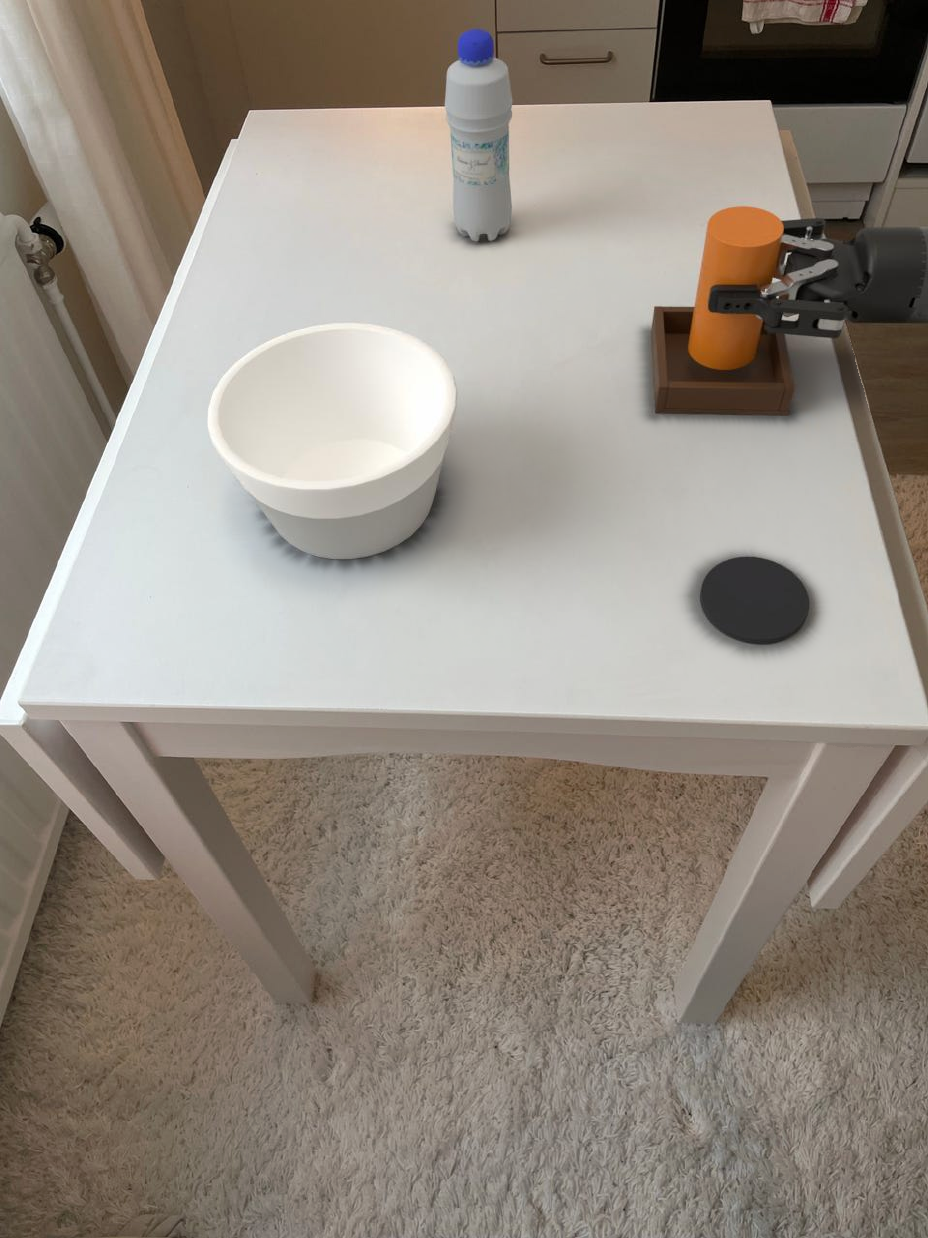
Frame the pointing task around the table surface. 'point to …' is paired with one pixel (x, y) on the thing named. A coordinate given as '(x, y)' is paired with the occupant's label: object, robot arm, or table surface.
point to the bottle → (479, 137)
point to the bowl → (337, 434)
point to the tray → (716, 373)
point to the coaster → (754, 600)
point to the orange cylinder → (733, 283)
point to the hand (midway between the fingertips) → (707, 275)
